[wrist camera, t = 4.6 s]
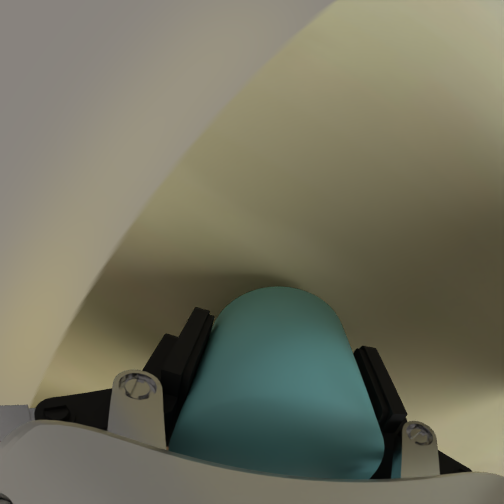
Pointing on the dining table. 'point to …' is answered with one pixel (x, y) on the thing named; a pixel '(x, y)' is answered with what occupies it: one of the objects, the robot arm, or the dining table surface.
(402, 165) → the dining table surface
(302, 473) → the teal rounded piece
